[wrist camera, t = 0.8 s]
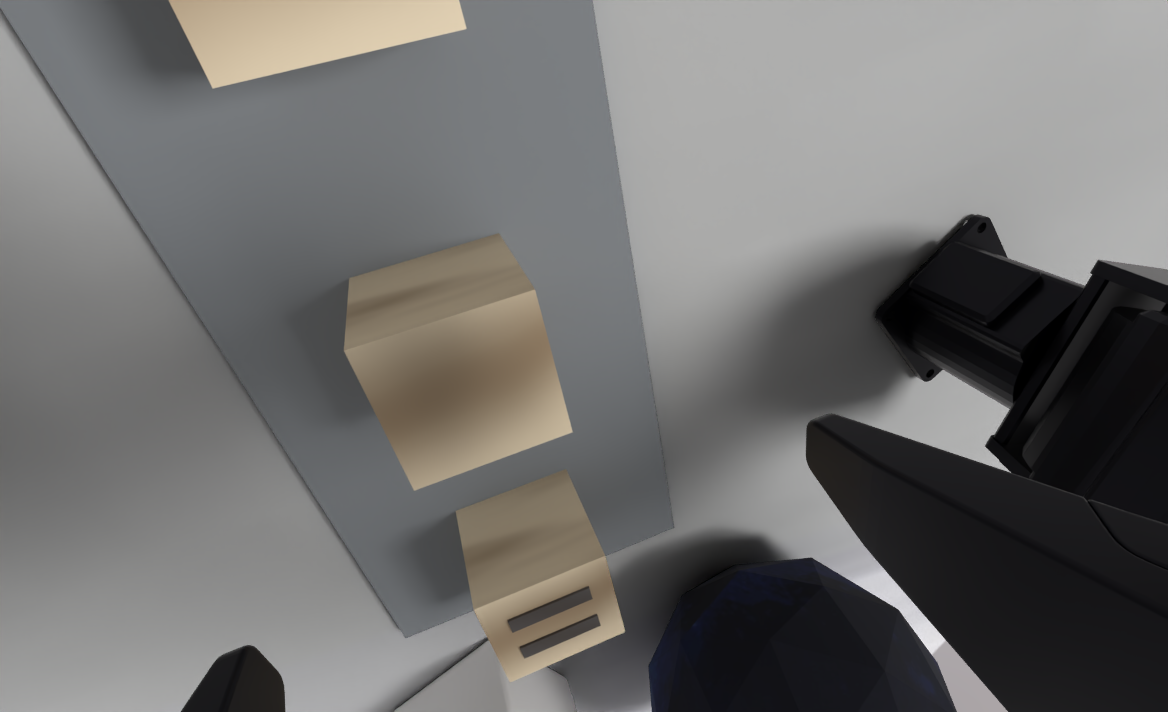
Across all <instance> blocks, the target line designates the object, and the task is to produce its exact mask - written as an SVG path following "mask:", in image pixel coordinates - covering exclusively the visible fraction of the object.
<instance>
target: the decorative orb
mask: <svg viewBox="0 0 1168 712" xmlns="http://www.w3.org/2000/svg"><path fill="white" fill-rule="evenodd" d="M649 679H650V692H651V706H652V712H957V711H956V709H955V706H954V704H953V701H952V699H951V696H950V694H949V691H948V689H947V686H946V683H945V681H944V679H943V676H942V674H941V671H940V669H939V666H938V663H937V662H936V660H935V659H934V658H933V656H932V655H931V653H930V652H929V651H928V649H927V648H926V647H925V645H924V644H923V643H922V641H921V640H920V639H919V637H918V636H917V634H916V633H915V632H914V630H913V629H912V628H911V626H910V625H909V624H908V622H907V621H906V619H905V618H904V617H903V615H902V614H901V613H900V611H899V610H898V609H896V608H895V607H893V606H891V605H890V604H888V603H886V602H885V601H883V600H881V599H880V598H878V597H876V596H875V595H873V594H871V593H870V592H868V591H866V590H865V589H863V588H861V587H860V586H858V585H856V584H855V583H853V582H851V581H850V580H848V579H846V578H845V577H843V576H841V575H839V574H838V573H836V572H834V571H833V570H831V569H829V568H828V567H826V566H824V565H823V564H821V563H819V562H818V561H816V560H814V559H813V558H803V559H792V560H782V561H772V562H762V563H752V564H741V565H734V566H732V567H730V568H729V569H727V570H725V571H723V572H722V573H720V574H718V575H716V576H715V577H713V578H711V579H710V580H708V581H706V582H704V583H703V584H701V585H699V586H697V587H696V588H694V589H692V590H690V591H689V592H687V593H685V594H684V595H682V597H681V599H680V601H679V603H678V605H677V607H676V609H675V611H674V613H673V616H672V618H671V620H670V622H669V624H668V626H667V628H666V630H665V632H664V634H663V637H662V639H661V641H660V643H659V645H658V647H657V649H656V651H655V653H654V655H653V658H652V660H651V662H650V664H649Z"/></svg>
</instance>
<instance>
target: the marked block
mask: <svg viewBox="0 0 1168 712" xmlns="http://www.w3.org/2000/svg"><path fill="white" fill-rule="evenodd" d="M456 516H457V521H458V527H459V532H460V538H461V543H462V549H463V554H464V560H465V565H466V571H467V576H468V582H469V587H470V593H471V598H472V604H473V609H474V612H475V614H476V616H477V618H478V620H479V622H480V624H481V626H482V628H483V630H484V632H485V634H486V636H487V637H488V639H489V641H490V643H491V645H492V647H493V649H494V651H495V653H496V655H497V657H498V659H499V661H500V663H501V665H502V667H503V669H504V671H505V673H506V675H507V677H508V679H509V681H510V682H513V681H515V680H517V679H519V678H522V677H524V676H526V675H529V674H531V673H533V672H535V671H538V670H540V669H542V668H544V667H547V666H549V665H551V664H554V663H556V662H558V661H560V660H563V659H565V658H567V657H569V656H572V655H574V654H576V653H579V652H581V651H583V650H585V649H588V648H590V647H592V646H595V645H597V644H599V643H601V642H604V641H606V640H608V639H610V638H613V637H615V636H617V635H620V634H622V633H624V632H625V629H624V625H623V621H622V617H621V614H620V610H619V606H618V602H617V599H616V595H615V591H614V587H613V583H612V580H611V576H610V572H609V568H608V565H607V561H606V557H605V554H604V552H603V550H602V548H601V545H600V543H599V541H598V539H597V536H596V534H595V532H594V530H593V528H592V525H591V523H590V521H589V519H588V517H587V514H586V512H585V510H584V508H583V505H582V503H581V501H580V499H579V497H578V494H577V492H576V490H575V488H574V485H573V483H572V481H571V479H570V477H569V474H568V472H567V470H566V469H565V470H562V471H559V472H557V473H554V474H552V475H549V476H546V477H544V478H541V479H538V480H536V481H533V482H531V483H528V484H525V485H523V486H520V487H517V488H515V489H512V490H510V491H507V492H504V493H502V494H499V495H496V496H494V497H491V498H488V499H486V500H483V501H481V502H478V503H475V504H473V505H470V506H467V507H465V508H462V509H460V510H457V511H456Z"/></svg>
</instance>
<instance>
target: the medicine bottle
mask: <svg viewBox="0 0 1168 712" xmlns="http://www.w3.org/2000/svg"><path fill="white" fill-rule="evenodd" d="M394 712H577V710H576V707H575V703H574V700H573V697H572V694H571V690H570V687H569V684H568V681H567V679H566V678H565V677H564V676H562V675H560V674H558V673H557V672H555V671H553V670H552V669H550V668H548V667H544V668H542V669H540V670H538V671H535V672H533V673H531V674H529V675H526V676H524V677H522V678H519V679H517V680H515V681H513V682H510V681H509V679H508V677H507V675H506V673H505V671H504V669H503V667H502V665H501V663H500V661H499V659H498V657H497V655H496V653H495V651H494V649H493V647H492V645H491V643H490V641H489V640H488V641H487V642H485V643H484V644H483V645H481V646H480V647H479V648H477V649H476V650H475V651H473V652H472V653H471V654H469V655H468V656H467V657H465V658H464V659H463V660H461V661H460V662H458V663H457V664H456V665H454V666H453V667H452V668H450V669H449V670H448V671H446V672H445V673H444V674H442V675H441V676H440V677H438V678H437V679H436V680H434V681H433V682H432V683H430V684H429V685H428V686H426V687H425V688H424V689H422V690H421V691H420V692H418V693H417V694H416V695H414V696H413V697H412V698H410V699H409V700H408V701H406V702H405V703H404V704H402V705H401V706H400V707H398V708H397V709H396V710H395V711H394Z"/></svg>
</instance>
